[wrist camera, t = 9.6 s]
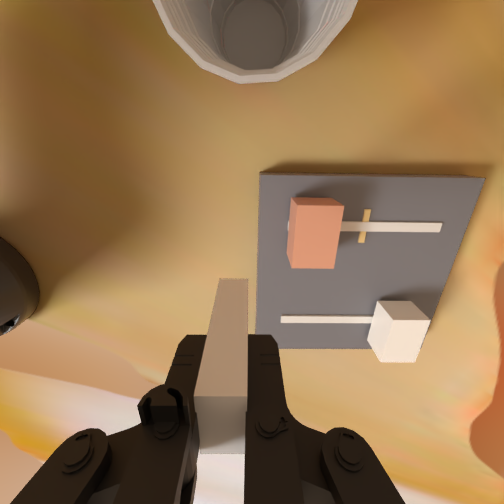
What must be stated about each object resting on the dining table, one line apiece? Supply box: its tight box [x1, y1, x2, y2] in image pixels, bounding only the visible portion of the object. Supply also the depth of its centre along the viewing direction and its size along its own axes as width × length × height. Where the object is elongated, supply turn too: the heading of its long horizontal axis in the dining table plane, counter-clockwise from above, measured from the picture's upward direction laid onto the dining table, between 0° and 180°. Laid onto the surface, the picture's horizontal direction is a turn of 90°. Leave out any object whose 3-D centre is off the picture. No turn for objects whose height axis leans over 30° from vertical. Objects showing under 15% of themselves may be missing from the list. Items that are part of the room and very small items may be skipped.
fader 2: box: [367, 301, 431, 362], centre depth 29 cm, size 4×6×4 cm, turn 179°
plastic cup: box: [152, 0, 358, 84], centre depth 16 cm, size 11×11×12 cm
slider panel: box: [255, 172, 486, 349], centre depth 29 cm, size 22×22×3 cm
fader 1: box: [287, 197, 344, 269], centre depth 24 cm, size 4×6×4 cm, turn 179°
